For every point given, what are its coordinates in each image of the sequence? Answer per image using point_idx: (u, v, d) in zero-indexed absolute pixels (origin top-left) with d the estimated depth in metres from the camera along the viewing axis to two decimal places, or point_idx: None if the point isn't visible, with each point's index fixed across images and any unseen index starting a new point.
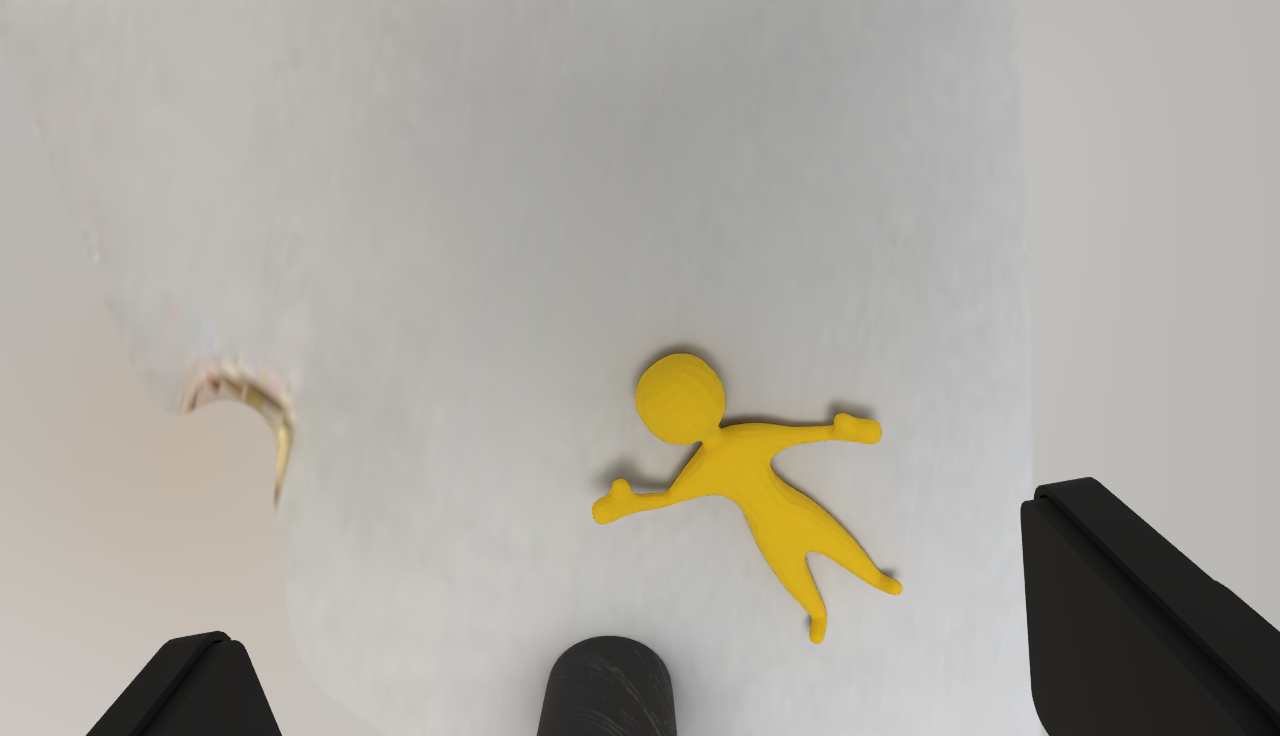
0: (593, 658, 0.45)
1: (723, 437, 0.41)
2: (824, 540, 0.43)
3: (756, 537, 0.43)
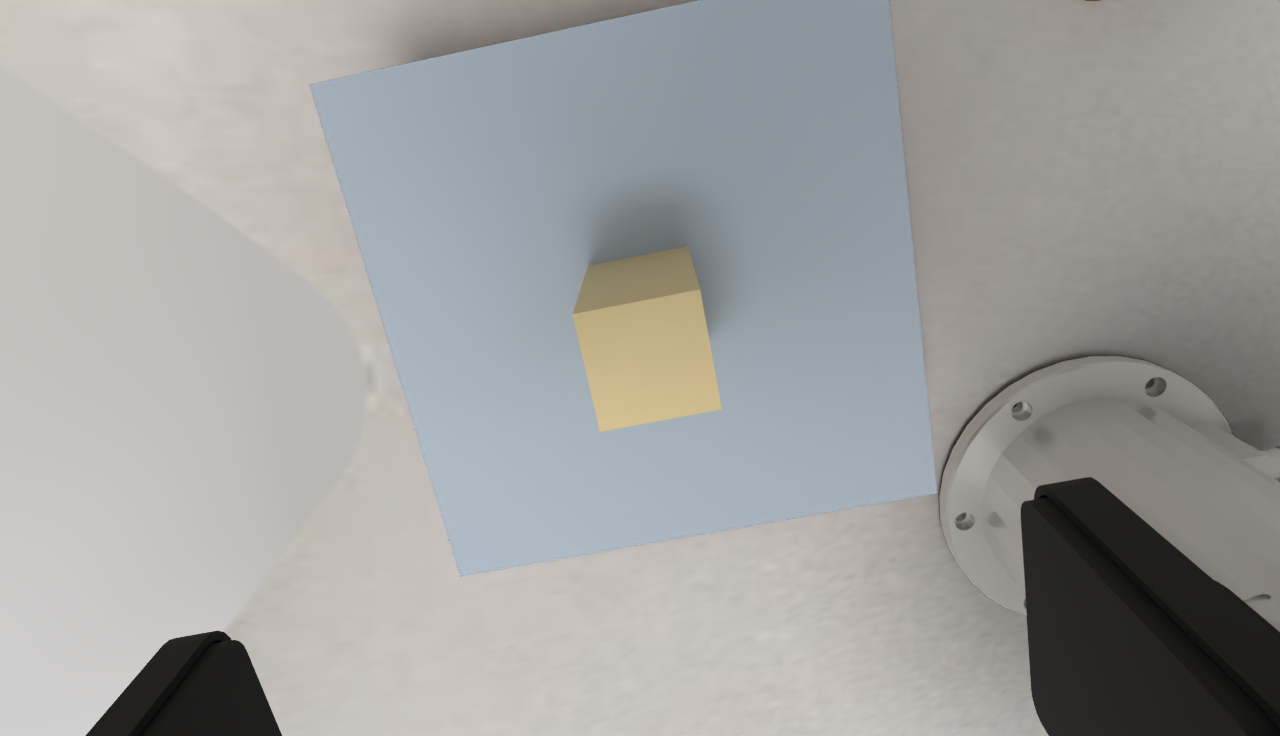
0: None
1: None
2: None
3: None
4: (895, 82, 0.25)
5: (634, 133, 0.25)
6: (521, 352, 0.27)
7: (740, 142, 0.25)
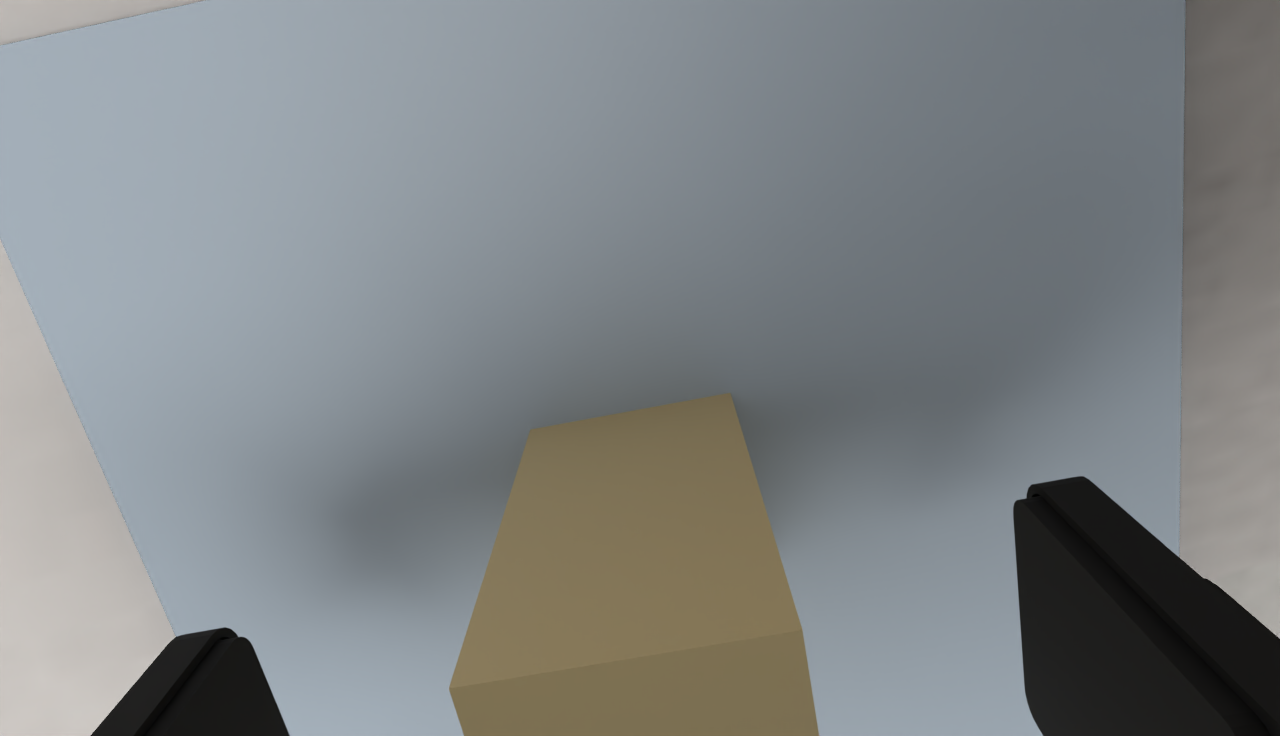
0: None
1: None
2: None
3: None
4: (1179, 62, 0.12)
5: (624, 169, 0.12)
6: (406, 585, 0.14)
7: (843, 189, 0.12)
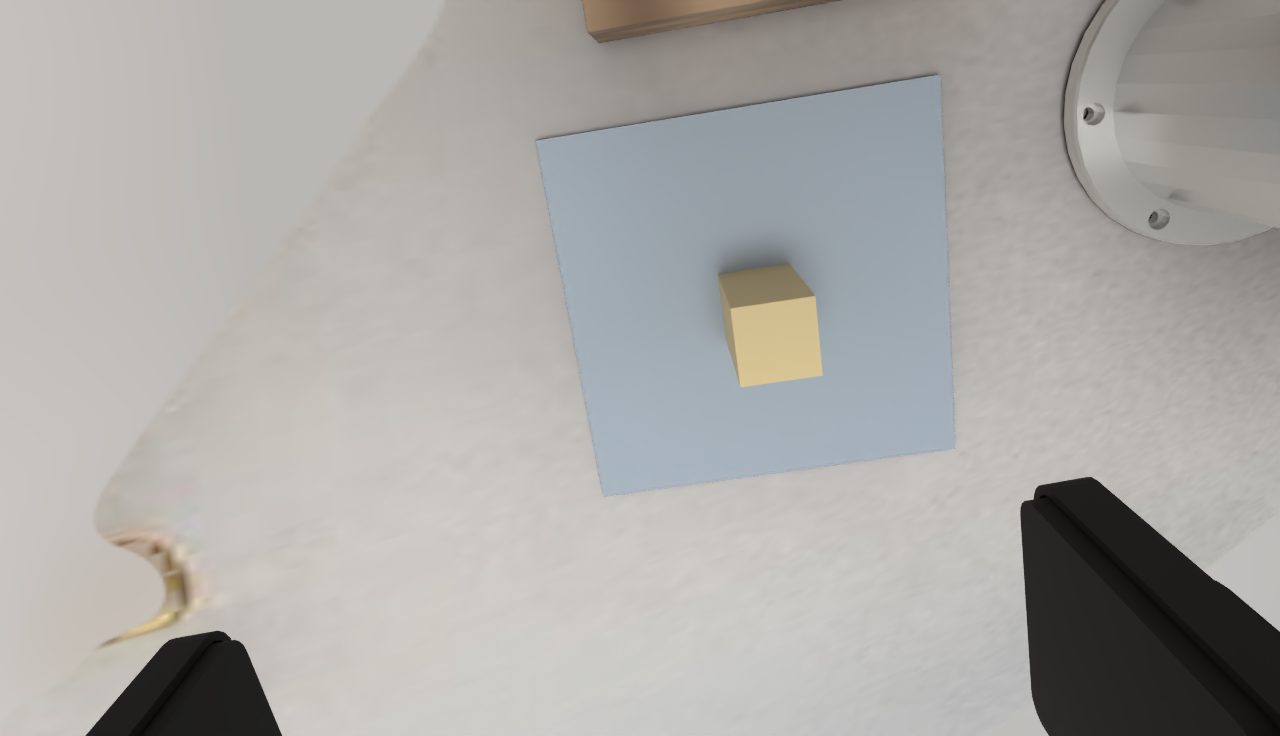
0: None
1: None
2: None
3: None
4: (942, 156, 0.35)
5: (759, 184, 0.36)
6: (665, 334, 0.38)
7: (832, 193, 0.36)
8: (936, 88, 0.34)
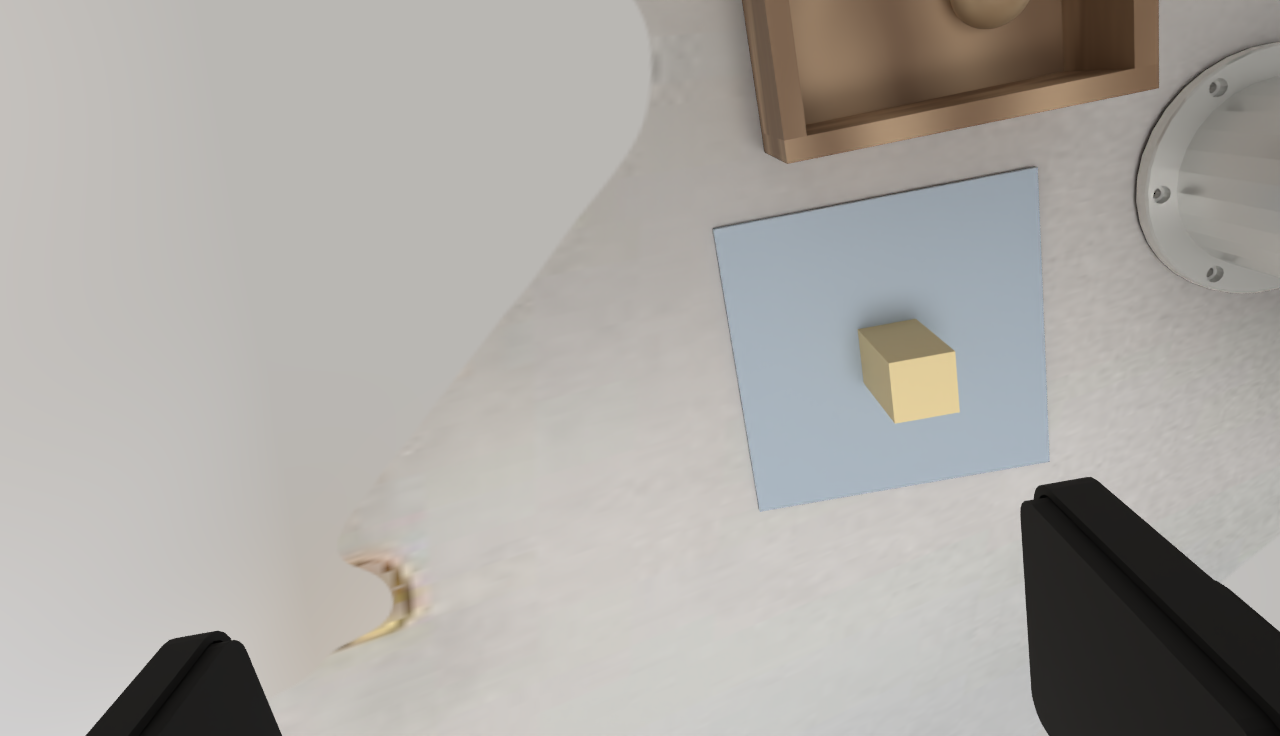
0: None
1: None
2: None
3: None
4: (1039, 230, 0.44)
5: (892, 257, 0.45)
6: (813, 378, 0.47)
7: (950, 262, 0.45)
8: (1034, 178, 0.43)
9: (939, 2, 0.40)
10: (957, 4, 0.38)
